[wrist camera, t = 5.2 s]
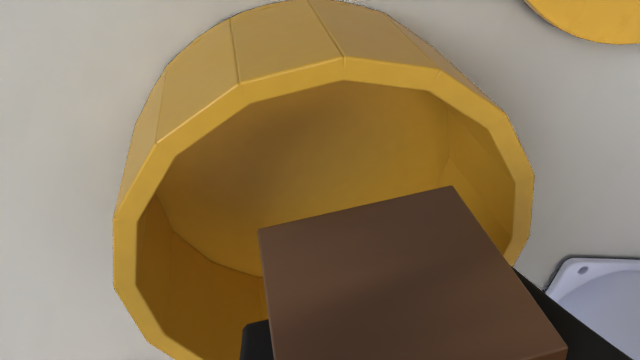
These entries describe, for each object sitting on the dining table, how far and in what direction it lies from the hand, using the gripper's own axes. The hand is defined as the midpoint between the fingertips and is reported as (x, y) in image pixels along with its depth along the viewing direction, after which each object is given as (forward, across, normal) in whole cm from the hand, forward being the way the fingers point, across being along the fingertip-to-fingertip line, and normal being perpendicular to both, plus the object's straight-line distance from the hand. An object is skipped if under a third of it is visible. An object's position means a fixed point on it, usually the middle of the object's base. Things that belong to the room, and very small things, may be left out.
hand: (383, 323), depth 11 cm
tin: (+9, 0, +2) cm, 9 cm away
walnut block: (+1, 0, 0) cm, 1 cm away
